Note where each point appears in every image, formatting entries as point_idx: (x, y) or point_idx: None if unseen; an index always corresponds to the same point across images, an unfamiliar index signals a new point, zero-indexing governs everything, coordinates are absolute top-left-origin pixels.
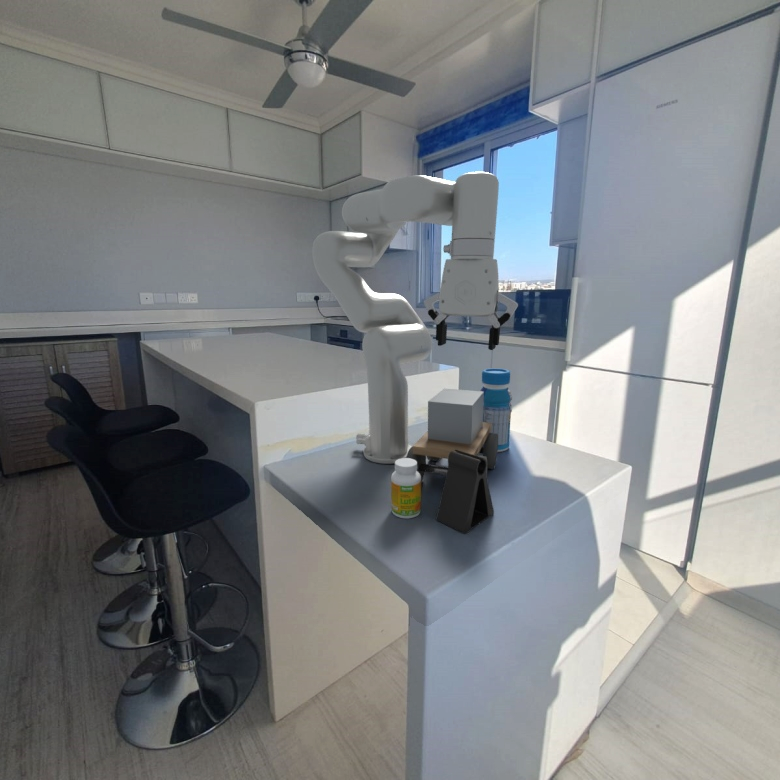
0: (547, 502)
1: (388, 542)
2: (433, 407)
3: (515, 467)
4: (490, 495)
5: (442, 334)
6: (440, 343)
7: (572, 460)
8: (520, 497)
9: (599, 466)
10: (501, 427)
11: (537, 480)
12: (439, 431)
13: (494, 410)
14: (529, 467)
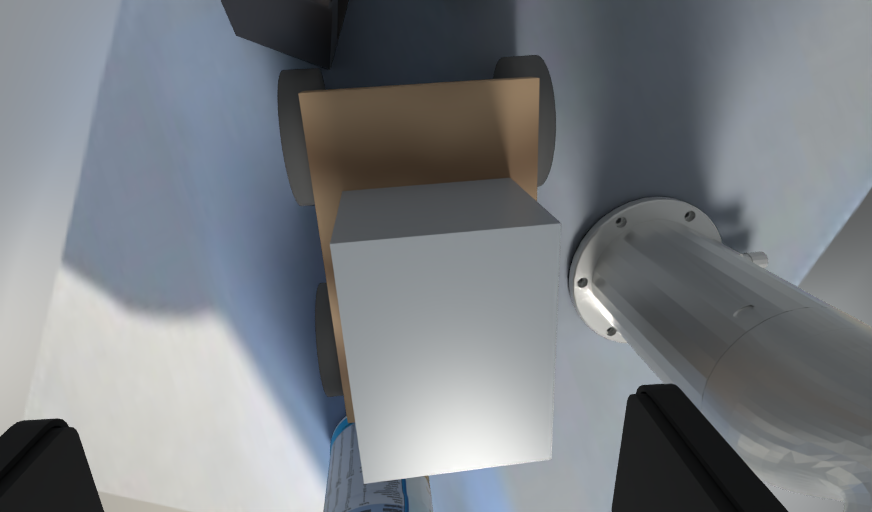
0: (129, 171)
1: None
2: (523, 216)
3: (278, 341)
4: (223, 6)
5: (692, 501)
6: (650, 398)
7: (151, 446)
8: (205, 168)
9: None
10: (342, 471)
11: (197, 289)
12: (471, 190)
13: (363, 508)
14: (243, 357)
